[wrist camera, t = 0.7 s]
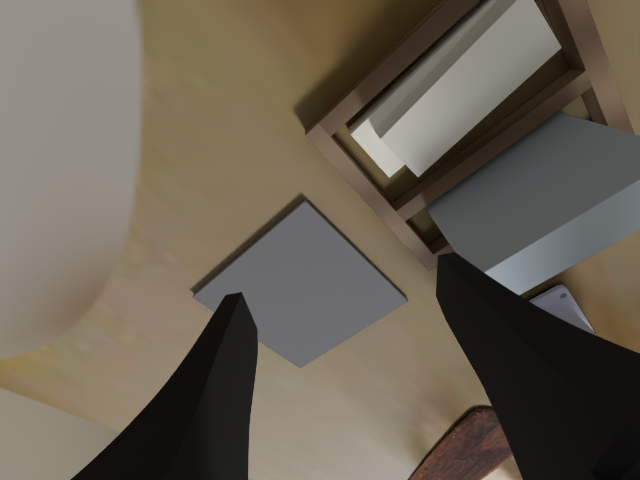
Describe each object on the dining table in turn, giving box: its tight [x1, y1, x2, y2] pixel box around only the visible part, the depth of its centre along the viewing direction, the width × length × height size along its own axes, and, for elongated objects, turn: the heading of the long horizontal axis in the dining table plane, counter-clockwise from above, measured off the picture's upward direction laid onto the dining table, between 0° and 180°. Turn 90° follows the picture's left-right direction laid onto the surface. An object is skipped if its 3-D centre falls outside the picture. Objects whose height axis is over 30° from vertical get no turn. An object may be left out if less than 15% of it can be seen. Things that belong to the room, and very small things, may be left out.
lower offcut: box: [348, 0, 497, 178], centre depth 18 cm, size 4×10×2 cm, turn 134°
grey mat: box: [193, 199, 408, 368], centre depth 26 cm, size 12×12×1 cm
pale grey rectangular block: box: [425, 112, 640, 295], centre depth 18 cm, size 2×9×8 cm, turn 132°
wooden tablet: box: [409, 407, 513, 480], centre depth 42 cm, size 26×2×10 cm
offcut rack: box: [305, 0, 634, 271], centre depth 19 cm, size 13×14×1 cm
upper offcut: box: [373, 0, 562, 177], centre depth 16 cm, size 3×8×2 cm, turn 138°
